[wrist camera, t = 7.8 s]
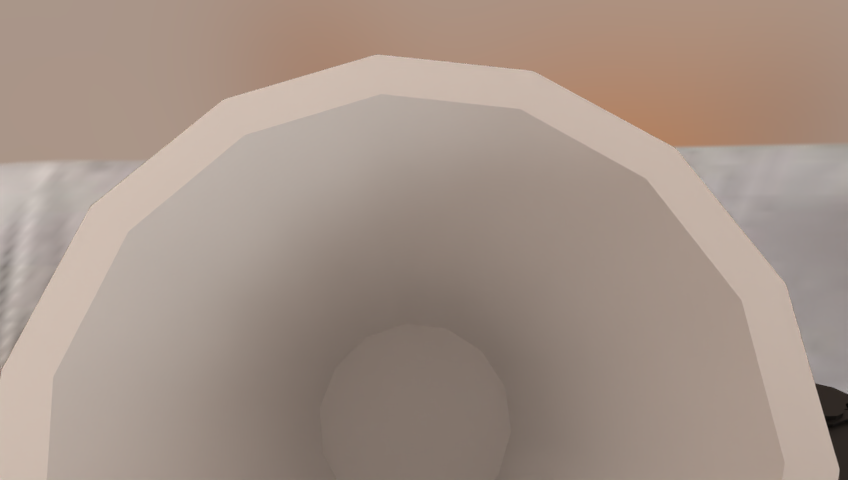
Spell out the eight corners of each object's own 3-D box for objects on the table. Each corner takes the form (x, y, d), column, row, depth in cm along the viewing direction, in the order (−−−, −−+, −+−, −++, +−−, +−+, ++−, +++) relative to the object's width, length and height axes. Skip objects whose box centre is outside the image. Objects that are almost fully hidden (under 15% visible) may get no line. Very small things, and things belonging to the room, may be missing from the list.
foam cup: (207, 466, 19) (-207, 558, 6) (371, 227, 21) (307, -52, 9) (468, 651, 17) (600, 1239, 5) (613, 375, 20) (953, 298, 7)
